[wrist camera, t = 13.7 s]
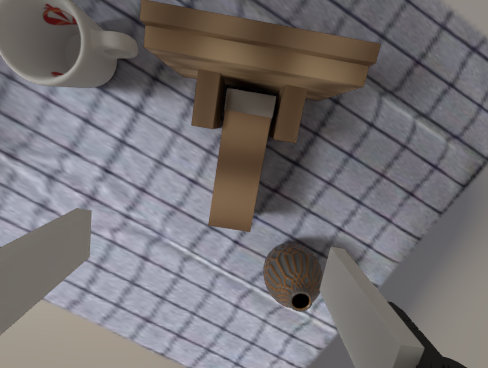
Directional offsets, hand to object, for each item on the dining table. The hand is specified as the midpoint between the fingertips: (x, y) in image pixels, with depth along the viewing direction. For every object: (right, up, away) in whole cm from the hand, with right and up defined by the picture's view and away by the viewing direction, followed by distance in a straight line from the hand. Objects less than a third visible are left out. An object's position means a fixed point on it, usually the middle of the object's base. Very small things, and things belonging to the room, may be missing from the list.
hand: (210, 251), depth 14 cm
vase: (+8, -6, +21) cm, 23 cm away
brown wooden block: (+1, +7, +18) cm, 19 cm away
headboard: (+3, +14, +16) cm, 21 cm away
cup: (-14, +18, +16) cm, 28 cm away
